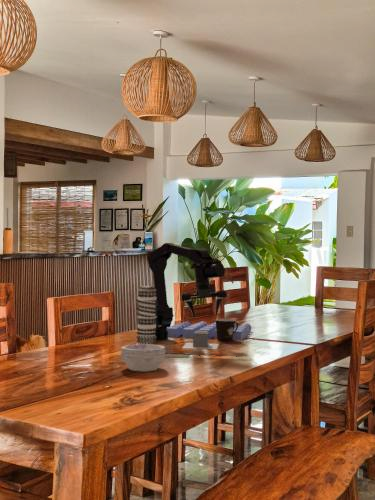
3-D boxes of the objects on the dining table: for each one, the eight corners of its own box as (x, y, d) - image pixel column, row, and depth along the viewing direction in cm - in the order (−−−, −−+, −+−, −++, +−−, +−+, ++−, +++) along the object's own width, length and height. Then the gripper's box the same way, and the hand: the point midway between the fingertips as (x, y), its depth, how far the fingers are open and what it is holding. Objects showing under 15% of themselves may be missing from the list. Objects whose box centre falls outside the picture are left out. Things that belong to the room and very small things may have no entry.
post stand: (181, 350, 263) (182, 338, 263) (186, 345, 277) (186, 333, 277) (216, 352, 262) (216, 339, 262) (219, 346, 276) (219, 334, 275)
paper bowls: (142, 363, 236) (142, 341, 235) (174, 369, 226) (174, 346, 226) (111, 369, 224) (111, 346, 224) (144, 375, 214) (144, 351, 214)
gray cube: (192, 346, 267) (193, 331, 267) (194, 344, 273) (194, 329, 273) (207, 347, 266) (207, 332, 266) (208, 344, 272) (209, 330, 272)
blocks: (165, 338, 300) (165, 328, 299) (183, 329, 333) (184, 319, 333) (241, 342, 291) (241, 331, 291) (252, 332, 325) (252, 322, 325)
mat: (159, 356, 250) (159, 354, 250) (164, 351, 261) (164, 349, 261) (188, 357, 248) (188, 355, 248) (191, 352, 259) (191, 350, 259)
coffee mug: (218, 344, 281) (219, 321, 281) (212, 341, 290) (212, 319, 290) (244, 343, 284) (244, 320, 284) (237, 340, 293) (237, 318, 293)
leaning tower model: (154, 346, 273) (155, 287, 273) (133, 345, 275) (133, 286, 275) (159, 343, 282) (160, 285, 282) (139, 342, 284) (139, 285, 284)
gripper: (180, 280, 261) (184, 319, 260) (227, 276, 263) (230, 315, 262) (179, 281, 272) (182, 318, 271) (223, 277, 274) (226, 314, 273)
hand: (205, 316), depth 269 cm, fingers open, 9 cm apart
